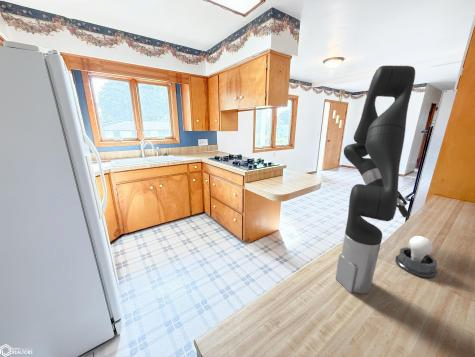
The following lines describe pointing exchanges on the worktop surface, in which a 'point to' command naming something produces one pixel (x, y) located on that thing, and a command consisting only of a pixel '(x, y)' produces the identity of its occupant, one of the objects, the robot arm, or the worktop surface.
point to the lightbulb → (420, 247)
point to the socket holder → (417, 264)
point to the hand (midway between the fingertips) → (399, 218)
